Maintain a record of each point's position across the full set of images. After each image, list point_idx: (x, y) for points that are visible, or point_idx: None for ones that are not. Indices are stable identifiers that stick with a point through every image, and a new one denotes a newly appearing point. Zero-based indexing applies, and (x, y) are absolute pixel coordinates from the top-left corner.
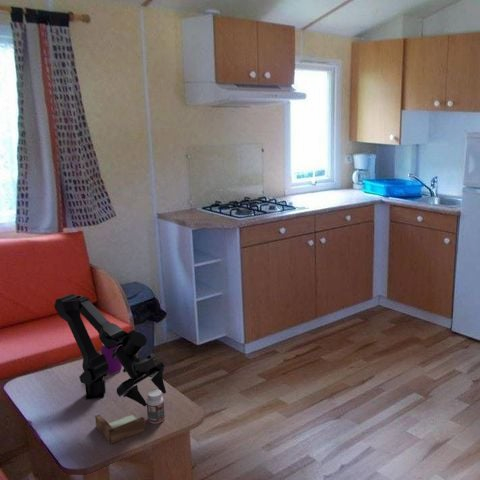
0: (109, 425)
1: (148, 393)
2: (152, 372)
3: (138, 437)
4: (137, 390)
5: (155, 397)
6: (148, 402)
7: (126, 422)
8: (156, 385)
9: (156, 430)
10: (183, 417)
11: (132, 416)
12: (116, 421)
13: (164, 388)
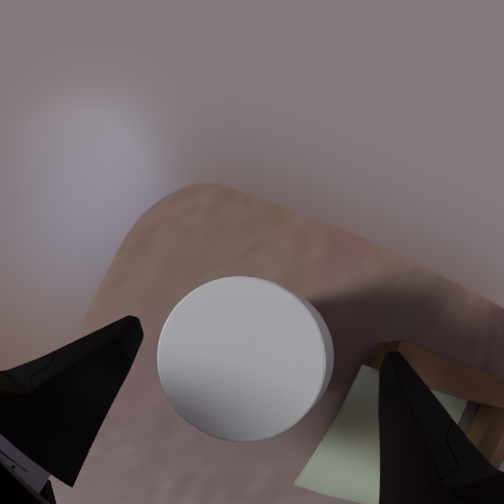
0: (498, 446)
1: (281, 423)
2: (4, 481)
3: (435, 328)
4: (460, 489)
5: (303, 304)
6: (324, 382)
7: (367, 463)
8: (96, 423)
9: (355, 290)
10: (203, 238)
11: (308, 473)
12: (374, 500)
13: (107, 329)
